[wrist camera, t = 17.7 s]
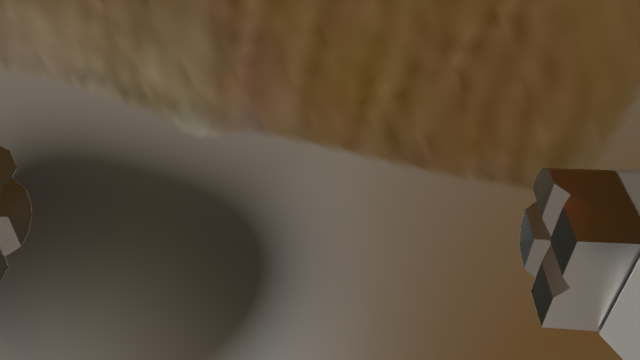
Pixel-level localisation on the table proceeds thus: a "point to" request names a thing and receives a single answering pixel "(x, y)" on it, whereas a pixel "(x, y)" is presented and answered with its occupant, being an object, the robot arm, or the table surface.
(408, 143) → the table surface
